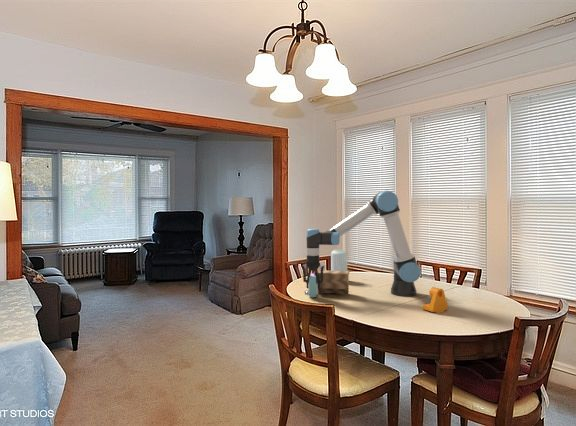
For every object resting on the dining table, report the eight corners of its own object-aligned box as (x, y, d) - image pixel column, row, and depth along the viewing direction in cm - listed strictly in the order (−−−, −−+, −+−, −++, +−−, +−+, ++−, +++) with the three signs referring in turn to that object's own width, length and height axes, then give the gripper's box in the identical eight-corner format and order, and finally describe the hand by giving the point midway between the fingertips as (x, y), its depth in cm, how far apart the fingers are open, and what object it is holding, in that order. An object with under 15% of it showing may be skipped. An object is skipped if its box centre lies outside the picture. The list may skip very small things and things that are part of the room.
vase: (328, 280, 270) (328, 249, 269) (342, 279, 273) (342, 248, 272) (335, 283, 259) (335, 251, 258) (350, 282, 262) (350, 250, 262)
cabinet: (349, 293, 230) (349, 271, 229) (348, 296, 222) (348, 273, 221) (315, 291, 235) (315, 270, 234) (313, 295, 226) (313, 272, 226)
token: (312, 293, 232) (312, 290, 231) (310, 295, 227) (310, 292, 227) (305, 293, 233) (305, 290, 233) (303, 294, 228) (303, 291, 228)
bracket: (436, 307, 199) (436, 284, 198) (447, 310, 192) (447, 287, 192) (421, 310, 194) (421, 287, 193) (432, 313, 187) (432, 290, 187)
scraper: (318, 293, 230) (318, 273, 230) (316, 297, 219) (315, 277, 219) (312, 292, 231) (312, 273, 230) (309, 297, 220) (309, 277, 220)
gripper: (328, 254, 223) (328, 293, 223) (300, 253, 227) (300, 291, 227) (326, 256, 215) (326, 296, 216) (297, 255, 219) (297, 294, 220)
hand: (313, 293), depth 222 cm, fingers closed on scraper, 4 cm apart
